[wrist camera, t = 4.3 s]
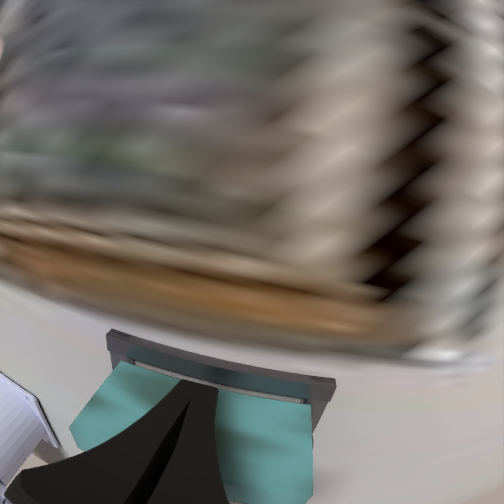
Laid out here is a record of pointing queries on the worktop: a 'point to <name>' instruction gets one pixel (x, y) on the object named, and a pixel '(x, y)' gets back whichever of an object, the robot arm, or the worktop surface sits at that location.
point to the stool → (216, 434)
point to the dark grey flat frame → (223, 371)
